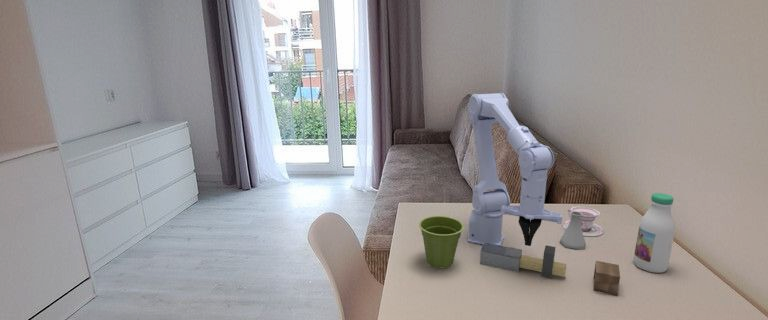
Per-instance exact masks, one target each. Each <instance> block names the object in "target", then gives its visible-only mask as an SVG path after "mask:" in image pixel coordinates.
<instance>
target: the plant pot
mask: <svg viewBox="0 0 768 320" xmlns="http://www.w3.org/2000/svg"><path fill="white" fill-rule="evenodd" d="M418 227H419V229H420V231H421V235H422V239H423V246H424V253H425V261H426V263H427V265H429V266H430V267H432V268H435V269H441V268H442V269H448V268H450V267H452V266H453V264H454V261H455V257H456V251H457V247H458V244H459V241H460V240H459V239H460V237H461V234H462V232H463V231H464V229H465V226H464V224H463V222H462V221H460V220H459V219H456V218H454V217H450V216H445V215H434V216H432V215H431V216H427V217H425V218H423V219H420V220H419V222H418Z"/></svg>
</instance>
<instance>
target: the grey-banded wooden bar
mask: <svg viewBox="0 0 768 320" xmlns="http://www.w3.org/2000/svg"><path fill="white" fill-rule="evenodd" d="M555 254H556V246H552V245H545V246H544V251H543V256H542V258H540V257H533V256H528V255H525V254H523V255H521V256H520V263H519V267H520V269H525V270H526V269H527V270H531V271H535V272H540V273H541V275H540V277H543V278H546V279H552V277H553V275H554V276H559V277H562V278H566V271H567V263H563V262H559V261H555Z"/></svg>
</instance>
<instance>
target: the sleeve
mask: <svg viewBox="0 0 768 320" xmlns="http://www.w3.org/2000/svg"><path fill="white" fill-rule="evenodd" d="M522 254H523V249H519V248H515V247H509V246H506V245H505V246H504V245H495V244H490V243H484V245H483V244H482V247H481V248H480V260H479V264H480V265H482V266H487V267H491V268H497V269H499V270H500V269H501V270H505V271H511V272H513V273H519V272H520V269H521V268H520V267H519V263H520V256H521V255H522Z"/></svg>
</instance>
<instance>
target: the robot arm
mask: <svg viewBox="0 0 768 320" xmlns="http://www.w3.org/2000/svg"><path fill="white" fill-rule="evenodd" d="M509 106H510V103H509V98H507V96H506V94H505V93H503V92H498V93H497V92H496V93H479V94H477V93H473V94H471V96H470V97H469V99H468V103H467V113H468V120H469V124H470V125H472V131H473V137H474V143H475V144H474V146H475V153H476V160H477V167H478V175H479V176H478V177H479V182H478V183H477V184H475V186H474V187H473V188H472V198H471V199H472V200H471V203H472V208H473V209H472V210H471V212H470V215H469V219H468V235H467V236H468V239H467V242H469V243H472V244H473V243H474V244H478V245H482V246H483V245H484V243H490V244H495V245H500V246H502V243H503V241H504V239H505V235H502V229H503V218H504V217H503V216H505V215H508V216H515V217H518V225H519V226H520V228H521V232H522V234H523V238H524V246H526V247H527V246H528V247H532V242H533V239H534V236H535V235H536V233H537V231H538V230H539V228H540V226H541V224H542V221H546V222H550V223H553V222H554V223H556V224H558V225H562V224H563V213H559V212H554V211H550V210H546V209H545V201H546V199H545V198H546V189H547V178H548V170H550V169H551V168H552V167H553V166H554V163H555V155H554V152H553V151H552V149H551V147H550V146H548V145H544V144H542V143H540V142H539V141H538V140H537V138H536V137H535V136H534V135H533V133H532V132H531V131H530V129H529V128H528V127H527V126H525V125H520V124H519V122H518V121H517V119H516V117H515V116H514V114H513V113H512V111H511V109H510V108H509ZM494 123H498V124H499V125H500V126H501V127H502V128H503V129H504V131H505V132H506V133H507V135H506V140H507V141H508V143H509V145H510V146H511V147H512V149H513V150H514V151H515V152H516V154H517V156H518V157H517V160H518V161H517V162H518V165H519V169H520V171H519V175H520V176H521V184H520V185H521V187H520V196H519V197H520V198H519V205H511V197H510V195H509V192H508V190H507V189H508V188H507V185H506V184H505V183H503V182H502V181H501V180H500V179H499V176H498V168H497V163H496V156H495V155H496V154H495V147H494V141H493V134H492V133H493V132H492V126H493V125H494Z"/></svg>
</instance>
